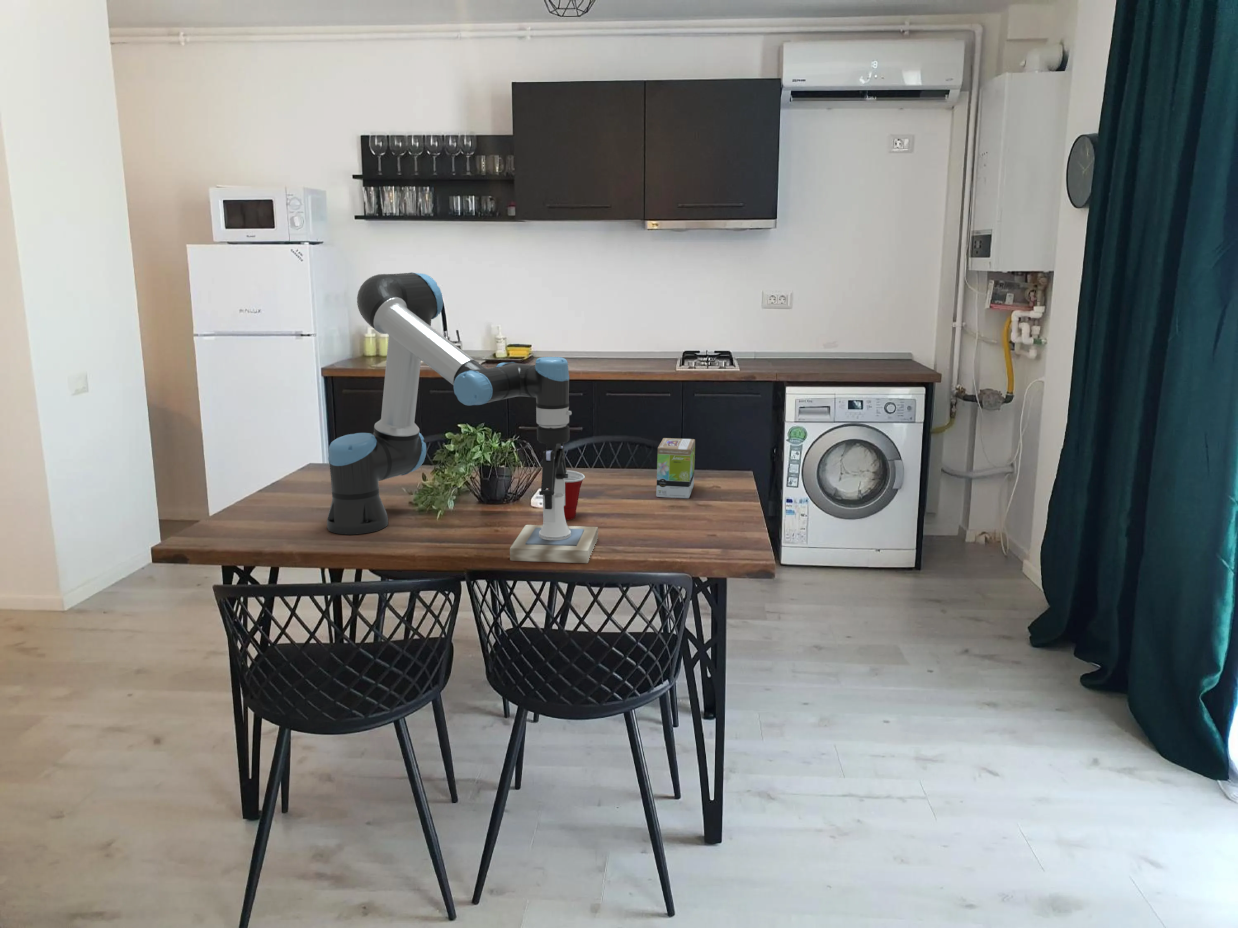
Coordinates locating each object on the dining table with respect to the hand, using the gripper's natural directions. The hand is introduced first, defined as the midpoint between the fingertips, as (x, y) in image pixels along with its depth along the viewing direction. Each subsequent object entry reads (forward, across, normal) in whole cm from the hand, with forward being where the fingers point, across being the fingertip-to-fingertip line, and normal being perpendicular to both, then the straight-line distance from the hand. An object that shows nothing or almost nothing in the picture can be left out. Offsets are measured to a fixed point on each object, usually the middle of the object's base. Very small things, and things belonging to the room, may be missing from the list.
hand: (554, 513), depth 214 cm
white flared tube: (+6, 0, 0) cm, 6 cm away
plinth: (+9, 0, 0) cm, 9 cm away
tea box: (+9, +55, -26) cm, 61 cm away
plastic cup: (+9, +26, +2) cm, 28 cm away
